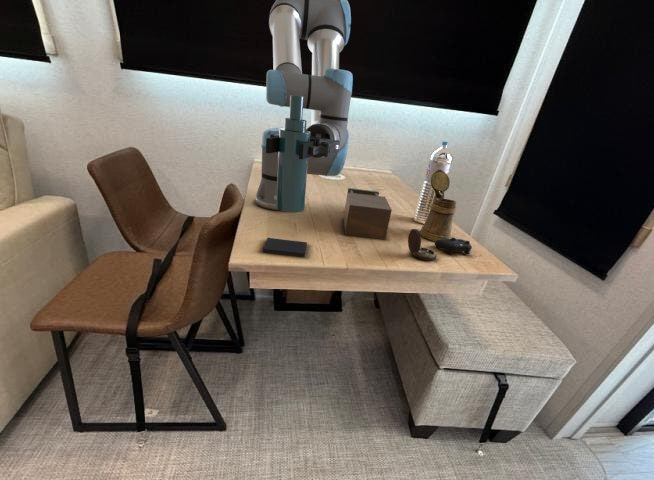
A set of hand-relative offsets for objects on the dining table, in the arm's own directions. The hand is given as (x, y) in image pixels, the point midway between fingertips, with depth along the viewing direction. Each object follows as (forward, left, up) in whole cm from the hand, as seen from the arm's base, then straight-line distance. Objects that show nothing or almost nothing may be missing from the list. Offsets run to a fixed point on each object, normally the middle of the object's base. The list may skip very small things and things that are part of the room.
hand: (284, 148), depth 64 cm
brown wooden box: (-26, +22, -23) cm, 41 cm away
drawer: (-39, +22, -22) cm, 50 cm away
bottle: (-5, +1, -13) cm, 14 cm away
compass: (-11, +36, -23) cm, 44 cm away
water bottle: (-41, +44, -23) cm, 64 cm away
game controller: (-17, +47, -23) cm, 55 cm away
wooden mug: (-29, +44, -23) cm, 57 cm away
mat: (-4, +1, -23) cm, 24 cm away
